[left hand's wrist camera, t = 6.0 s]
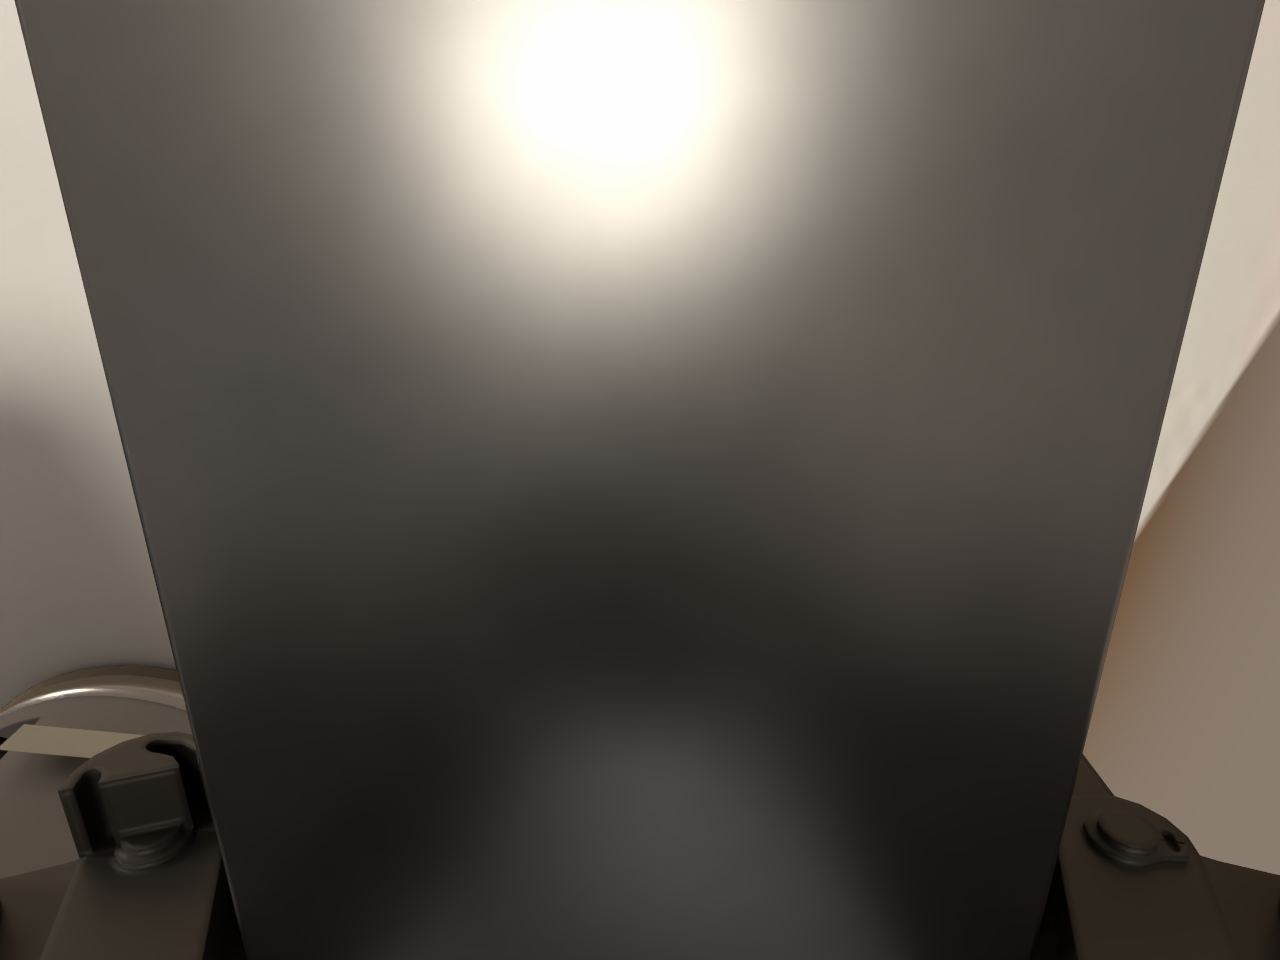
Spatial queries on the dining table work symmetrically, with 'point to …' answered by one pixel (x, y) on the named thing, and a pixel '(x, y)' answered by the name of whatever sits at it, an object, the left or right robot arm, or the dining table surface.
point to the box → (639, 443)
